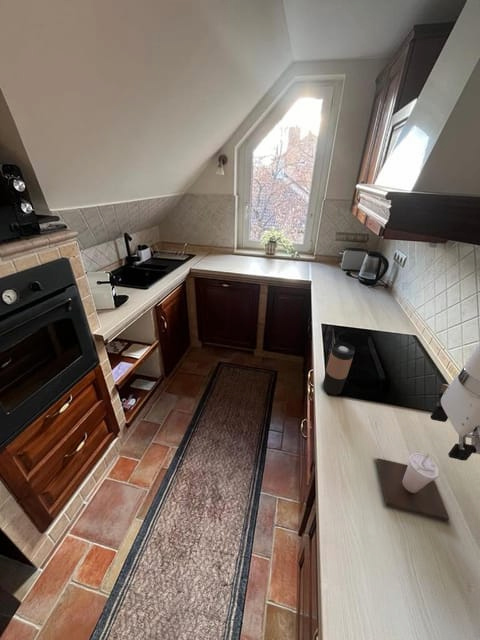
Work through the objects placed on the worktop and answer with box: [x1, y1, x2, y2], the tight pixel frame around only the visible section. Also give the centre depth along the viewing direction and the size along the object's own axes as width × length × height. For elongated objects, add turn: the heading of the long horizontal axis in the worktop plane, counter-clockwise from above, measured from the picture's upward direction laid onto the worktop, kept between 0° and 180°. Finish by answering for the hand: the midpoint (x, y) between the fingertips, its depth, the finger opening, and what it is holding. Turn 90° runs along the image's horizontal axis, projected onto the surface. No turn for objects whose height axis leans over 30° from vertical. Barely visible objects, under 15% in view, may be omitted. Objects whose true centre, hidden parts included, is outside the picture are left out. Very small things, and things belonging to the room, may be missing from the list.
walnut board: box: [375, 457, 450, 522], centre depth 69 cm, size 14×12×2 cm
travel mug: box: [322, 341, 355, 396], centre depth 95 cm, size 8×8×20 cm
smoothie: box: [402, 452, 440, 493], centre depth 65 cm, size 6×6×14 cm
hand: (446, 437), depth 58 cm, fingers open, 9 cm apart
